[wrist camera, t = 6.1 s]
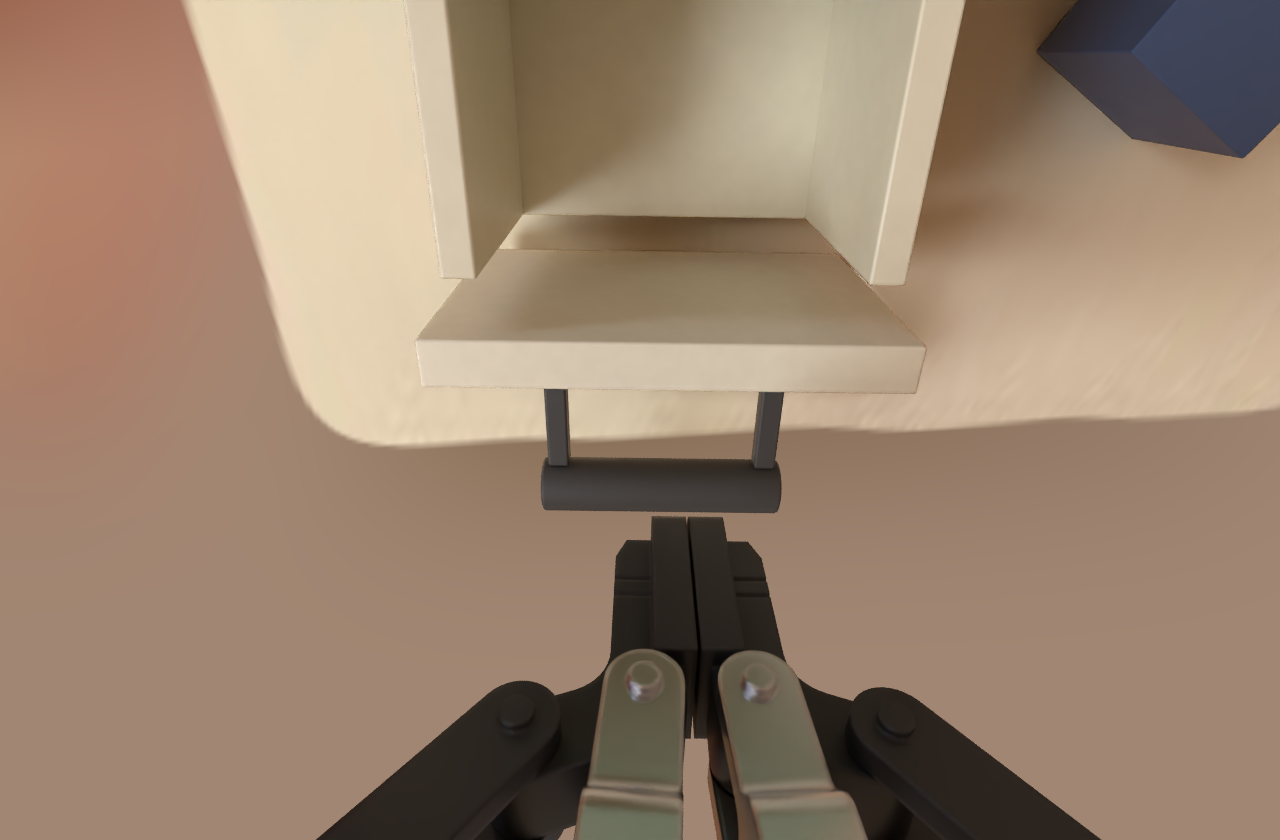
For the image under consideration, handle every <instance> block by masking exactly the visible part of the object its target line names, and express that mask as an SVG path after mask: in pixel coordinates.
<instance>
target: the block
mask: <svg viewBox="0 0 1280 840" xmlns="http://www.w3.org/2000/svg"><path fill="white" fill-rule="evenodd" d="M1037 53H1038V54H1039V55H1040V56H1041V57H1042V58H1043V59H1044V60H1046V61H1047V62H1048V63H1049V64H1050V65H1051V66H1052V67H1053V68H1054V69H1056V70H1057V71H1058V72H1059V73H1060V74H1061V75H1062V76H1063V77H1064V78H1065V79H1067V80H1068V81H1069V82H1070V83H1071V84H1072V85H1073V86H1074V87H1075V88H1077V89H1078V90H1079V91H1080V92H1081V93H1082V94H1083V95H1084V96H1085V97H1087V98H1088V99H1089V100H1090V101H1091V102H1092V103H1093V104H1094V105H1095V106H1096V107H1098V108H1099V109H1100V110H1101V111H1102V112H1103V113H1104V114H1105V115H1106V116H1108V117H1109V118H1110V119H1111V120H1112V121H1113V122H1114V123H1115V124H1116V125H1118V126H1119V127H1120V128H1121V129H1122V130H1123V131H1124V132H1125V133H1126V134H1127V135H1129V136H1130V137H1131V138H1132V139H1137V140H1143V141H1148V142H1154V143H1159V144H1165V145H1171V146H1176V147H1182V148H1187V149H1193V150H1199V151H1204V152H1210V153H1215V154H1221V155H1227V156H1232V157H1238V158H1244V157H1245V156H1246V155H1247V154H1248V153H1249V152H1250V151H1252V150H1253V149H1254V148H1255V147H1256V146H1257V145H1258V144H1259V143H1260V142H1261V141H1262V140H1263V139H1264V138H1265V137H1266V136H1267V135H1268V134H1269V133H1270V132H1271V131H1272V130H1273V129H1274V128H1275V127H1276V126H1277V125H1278V124H1279V123H1280V0H1078V1H1077V2H1076V4H1075V5H1074V6H1073V7H1072V8H1071V10H1070V11H1069V12H1068V13H1067V15H1066V16H1065V17H1064V18H1063V19H1062V21H1061V22H1060V23H1059V24H1058V26H1057V27H1056V28H1055V29H1054V30H1053V32H1052V33H1051V34H1050V35H1049V37H1048V38H1047V39H1046V40H1045V41H1044V43H1043V44H1042V45H1041V46H1040V48H1039V49H1038V50H1037Z"/></svg>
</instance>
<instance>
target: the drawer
mask: <svg viewBox="0 0 1280 840" xmlns="http://www.w3.org/2000/svg"><path fill="white" fill-rule="evenodd" d="M403 1H404V9H405V16H406V24H407V31H408V39H409V46H410V54H411V61H412V69H413V76H414V84H415V91H416V99H417V106H418V114H419V121H420V129H421V136H422V144H423V151H424V159H425V166H426V174H427V181H428V189H429V196H430V204H431V211H432V219H433V226H434V234H435V241H436V249H437V256H438V264H439V271H440V276H441V278H444V279H462V281H461V282H460V283H459V284H458V286H457V287H456V288H455V290H454V291H453V292H452V293H451V295H450V296H449V297H448V298H447V300H446V301H445V302H444V304H443V305H442V306H441V307H440V309H439V310H438V311H437V312H436V314H435V315H434V316H433V318H432V319H431V320H430V321H429V323H428V324H427V325H426V326H425V328H424V329H423V330H422V332H421V333H420V334H419V335H418V337H417V338H416V339H415V347H416V353H417V359H418V365H419V372H420V378H421V384H422V386H423V387H457V388H528V389H544V397H545V413H546V430H547V445H548V457H546V458H545V460H544V462H543V466H542V475H541V500H542V505H543V508H544V509H545V510H571V511H572V510H573V511H647V512H650V511H651V512H652V511H653V512H655V511H656V512H724V513H727V512H728V513H775V512H777V511H778V509H779V505H780V501H781V474H780V469H779V466H778V463H777V461H775V457H776V450H777V442H778V434H779V427H780V420H781V412H782V405H783V397H784V392H814V393H885V394H915V393H916V391H917V387H918V383H919V379H920V375H921V371H922V366H923V362H924V358H925V354H926V346H925V345H924V344H923V343H922V342H921V341H920V340H919V339H918V338H917V337H916V336H915V335H914V334H913V333H912V331H911V330H910V329H909V328H908V327H907V326H906V325H905V324H904V323H903V322H902V321H901V320H900V319H899V318H898V317H897V316H896V315H895V314H894V313H893V312H892V311H891V310H890V309H889V308H888V307H887V305H886V304H885V303H884V302H883V301H882V300H881V299H880V298H879V297H878V296H877V295H876V294H875V293H874V292H873V291H872V290H871V289H870V288H869V287H868V286H867V285H866V284H865V283H864V282H863V281H862V279H861V278H860V277H859V276H858V275H857V274H856V273H855V272H854V271H853V270H852V269H851V268H850V267H849V266H848V265H847V264H846V263H845V262H844V261H843V260H842V259H841V258H840V257H839V256H838V255H837V254H795V253H729V252H662V251H596V250H529V249H498V248H499V246H500V245H501V244H502V242H503V241H504V239H505V238H506V237H507V235H508V234H509V233H510V231H511V230H512V229H513V227H514V226H515V224H516V223H517V222H518V220H519V219H520V218H521V216H522V215H523V214H525V215H591V216H656V217H722V218H787V219H806V220H807V221H808V222H809V223H810V224H811V225H812V226H813V227H814V228H815V229H816V230H817V231H818V232H819V233H820V234H821V235H822V236H823V237H824V238H825V239H826V240H827V241H828V242H829V243H830V244H831V245H832V246H833V247H834V248H835V249H836V250H837V251H838V252H839V253H840V254H841V255H842V256H843V257H844V259H845V260H846V261H847V262H848V263H849V264H850V265H851V266H852V267H853V268H854V269H855V270H856V271H857V272H858V273H859V274H860V275H861V276H862V277H863V278H864V279H865V280H866V281H867V282H868V283H869V284H871V285H905V283H906V279H907V274H908V269H909V265H910V260H911V255H912V251H913V246H914V241H915V236H916V232H917V227H918V222H919V218H920V213H921V208H922V204H923V199H924V194H925V189H926V185H927V180H928V175H929V171H930V166H931V161H932V157H933V152H934V147H935V142H936V138H937V133H938V128H939V124H940V119H941V114H942V110H943V105H944V100H945V95H946V91H947V86H948V81H949V77H950V72H951V67H952V62H953V58H954V53H955V48H956V44H957V39H958V34H959V30H960V25H961V20H962V15H963V11H964V6H965V1H966V0H403ZM568 389H599V390H671V391H742V392H759V396H758V405H757V414H756V423H755V431H754V440H753V450H752V460H745V459H671V458H665V459H664V458H596V457H594V458H593V457H570V455H571V454H570V430H569V407H568Z"/></svg>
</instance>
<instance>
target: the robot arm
mask: <svg viewBox="0 0 1280 840" xmlns="http://www.w3.org/2000/svg"><path fill="white" fill-rule="evenodd" d="M615 567H616V568H615V583H614V601H613V602H614V603H613V620H612V638H611V653H610V659H609V661H608V664H607V666H606V668H605V669H604V671H603V672H602V673H601V675H600V676H598V677H597V678H596V679H595V680H594V681H592V682H591V683H589V684H587V685H586V686H584V687H581V688H579V689H576V690H573V691H570V692H566V693H563V694H559V695H554V694H553V693H552V692H551V691H550V690H549V689H548V688H546V687H545V686H543V685H541V684H538V683H535V682H531V681H514V682H510V683H506V684H504V685H501V686H499V687H497V688H496V689H494V690H492V691H491V692H490V693H488V694H487V695H486V696H485V697H484V698H483V699H481V700H480V701H479V702H478V703H477V704H476V705H474V706H473V707H472V708H471V709H470V710H468V711H467V712H466V713H465V714H464V715H462V716H461V717H460V718H459V719H458V720H457V721H455V722H454V723H453V724H452V725H451V726H450V727H448V728H447V729H446V730H445V731H444V732H442V733H441V734H440V735H439V736H438V737H436V738H435V739H434V740H433V741H432V742H431V743H429V744H428V745H427V746H426V747H425V748H424V749H422V750H421V751H420V752H419V753H418V754H416V755H415V756H414V757H413V758H412V759H411V760H409V761H408V762H407V763H406V764H405V765H403V766H402V767H401V768H400V769H399V770H398V771H397V772H396V773H394V774H393V775H392V776H390V777H389V778H388V779H387V780H386V781H385V782H384V783H382V784H381V785H380V786H379V787H378V788H376V789H375V790H374V791H373V792H372V793H371V794H369V795H368V796H367V797H366V798H365V799H363V800H362V801H361V802H360V803H359V804H358V805H356V806H355V807H354V808H353V809H352V810H350V811H349V812H348V813H347V814H346V815H345V816H343V817H342V818H341V819H340V820H339V821H338V822H336V823H335V824H334V825H333V826H332V827H330V828H329V829H328V830H327V831H326V832H325V833H324V834H322V835H321V836H320V837H319V838H317V839H316V840H558V839H559V837H560V836H561V834H562V832H563V830H564V829H566V828H569V827H571V826H574V825H576V827H575V834H574V840H683V792H682V791H683V762H684V748H685V739H688V738H689V739H690V738H691V726H692V716H693V729H694V738H702V739H703V738H704V739H705V738H707V740H708V751H709V768H708V777H707V779H708V787H709V793H710V800H711V806H712V812H713V818H714V824H715V830H716V836H717V840H1100V838H1098V837H1097V836H1096V835H1094V834H1093V833H1092V832H1090V831H1089V830H1088V829H1086V828H1085V827H1084V826H1083V825H1081V824H1080V823H1079V822H1077V821H1076V820H1075V819H1073V818H1072V817H1071V816H1069V815H1068V814H1067V813H1065V812H1064V811H1063V810H1062V809H1060V808H1059V807H1058V806H1056V805H1055V804H1054V803H1052V802H1051V801H1050V800H1048V799H1047V798H1045V797H1044V796H1043V795H1042V794H1040V793H1039V792H1038V791H1037V790H1035V789H1034V788H1033V787H1031V786H1030V785H1029V784H1027V783H1026V782H1025V781H1023V780H1022V779H1021V778H1019V777H1018V776H1017V775H1016V774H1014V773H1013V772H1012V771H1010V770H1009V769H1008V768H1006V767H1005V766H1004V765H1002V764H1001V763H1000V762H998V761H997V760H996V759H995V758H993V757H992V756H991V755H989V754H988V753H987V752H985V751H984V750H983V749H981V748H980V747H978V746H977V745H976V744H975V743H974V742H972V741H971V740H970V739H968V738H967V737H966V736H964V735H963V734H961V733H960V732H959V731H958V730H956V729H955V728H954V727H953V726H951V725H950V724H948V723H947V722H946V721H944V720H943V719H942V718H941V717H939V716H938V715H937V714H935V713H934V712H933V711H931V710H930V709H929V708H927V707H926V706H925V705H924V704H922V703H921V702H920V701H918V700H917V699H915V698H914V697H912V696H910V695H908V694H906V693H904V692H902V691H899V690H895V689H892V688H884V687H880V688H871V689H868V690H865V691H863V692H862V693H860V694H859V695H858V696H857V697H856V698H855V699H854V701H851V700H847V699H844V698H840V697H837V696H834V695H830V694H827V693H824V692H821V691H819V690H817V689H814V688H812V687H811V686H809V685H807V684H806V683H804V682H803V681H802V680H801V679H799V678H798V677H797V675H796V674H795V672H794V671H793V669H792V668H791V667H790V666H789V665H788V664H787V662H786V660H785V657H784V654H783V650H782V646H781V642H780V637H779V633H778V628H777V624H776V620H775V615H774V611H773V607H772V602H771V598H770V597H769V589H768V585H767V582H766V576H765V572H764V567H763V563H762V559H761V557H760V556H759V555H758V554H757V553H756V552H755V550H754V549H753V548H752V546H751V545H750V544H749V543H748V542H730V541H728V542H727V539H726V532H725V527H724V521H723V518H722V517H688V520H687V523H686V517H671V516H670V517H668V516H652V524H651V540H650V541H649V540H627V541H626V542H625V544H624V545H623V547H622V548H621V550H620V551H619V553H618V554H617V556H616V566H615Z"/></svg>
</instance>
